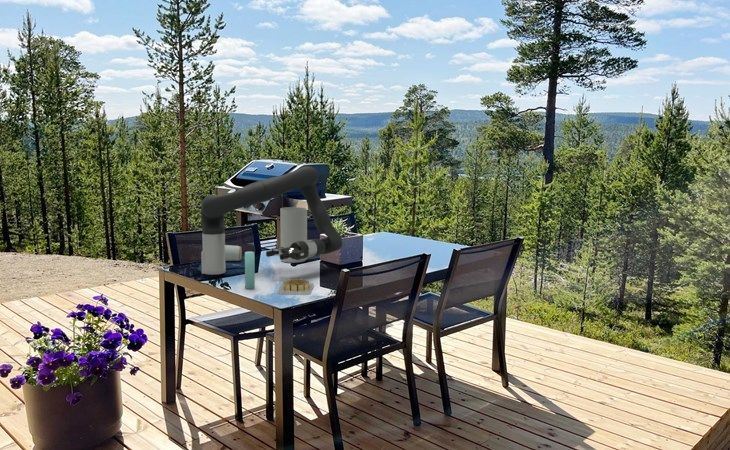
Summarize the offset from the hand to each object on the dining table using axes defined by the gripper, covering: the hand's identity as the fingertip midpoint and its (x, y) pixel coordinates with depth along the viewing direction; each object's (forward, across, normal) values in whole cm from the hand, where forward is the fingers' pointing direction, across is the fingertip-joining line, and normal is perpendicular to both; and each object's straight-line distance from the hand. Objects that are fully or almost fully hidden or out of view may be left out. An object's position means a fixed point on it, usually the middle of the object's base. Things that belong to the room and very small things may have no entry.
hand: (273, 255), depth 217 cm
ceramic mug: (-14, -48, +11) cm, 51 cm away
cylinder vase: (-34, -27, +12) cm, 45 cm away
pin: (+12, 0, +11) cm, 16 cm away
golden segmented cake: (+1, +14, +11) cm, 18 cm away
